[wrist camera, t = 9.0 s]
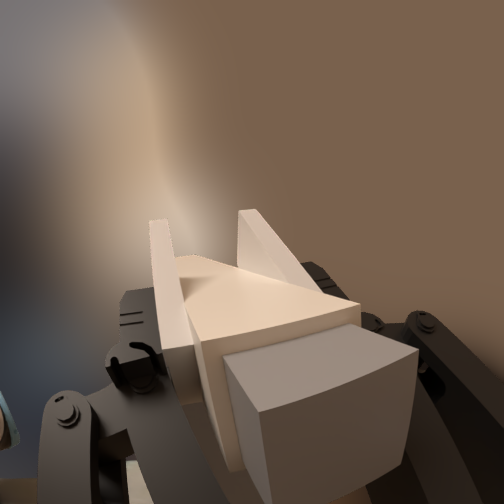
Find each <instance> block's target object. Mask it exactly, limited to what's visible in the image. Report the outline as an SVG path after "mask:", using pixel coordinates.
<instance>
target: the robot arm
mask: <svg viewBox="0 0 504 504" xmlns="http://www.w3.org/2000/svg"><path fill="white" fill-rule="evenodd" d="M238 215H239V217H238V248H237V265H238V267H239V269H243V270H246V271H249V272H252V273H256V274H259V275H262V276H266V277H269V278H272V279H275V280H279V281H282V282H285V283H289V284H293V285H297V286H300V287H304V288H307V289H310V290H314V291H317V292H321V293H324V294H328V295H331V296H335V297H338V298H341V299H345V300H348V301H350V300H349V299H348V297H347V296H346V295H345V294H344V293H343V292H342V290H341V289H340V288H339V287H337V285H336V283H335V282H334V281H333V280H332V279H330V276H329V275H328V274H327V273H326V272H325V270H324V269H323V268H321V267H319V266H318V265H316V264H314V263H313V262H305V263H299V262H298V260H297V259H296V258H295V257H294V255H293V254H292V253H291V252H290V250H289V249H288V248H287V247H286V246H285V244H284V243H283V242H282V241H281V239H280V238H279V237H278V236H277V234H276V233H275V232H274V231H273V230H272V228H270V226H269V225H268V223H267V222H266V221H265V220H264V219H263V217H262V216H261V215H260V214H259V212H258V211H257V210H256V209H250V210H240V211H239V214H238ZM149 230H150V245H151V259H152V271H153V282H154V287H151V288H145V289H138V290H130V291H126V292H125V294H124V296H123V298H122V299H121V301H120V342H119V343H117V344H116V345H115V346H114V347H112V348H111V349H110V351H109V353H108V355H107V357H106V361H105V362H106V363H105V368H106V370H107V372H108V374H109V376H110V377H111V379H112V381H113V382H112V383H111V384H110V385H109V386H108V387H106V388H104V389H102V390H100V391H98V392H95V393H93V394H90V395H88V396H86V397H84V396H83V395H81V394H80V393H78V392H75V391H70V390H68V391H61V392H59V393H57V394H55V395H53V396H52V397H51V398H50V400H49V401H48V402H47V403H46V406H45V409H44V413H43V420H42V427H41V436H40V445H39V457H38V475H37V504H129V495H128V484H127V472H126V457H128V456H130V455H132V454H135V456H136V459H137V462H138V464H139V467H140V470H141V473H142V475H143V478H144V481H145V483H146V486H147V488H148V491H149V493H150V495H151V498H152V500H153V503H154V504H230V502H229V501H228V499H227V497H226V496H225V494H224V492H223V490H222V488H221V487H220V485H219V483H218V481H217V479H216V478H215V476H214V474H213V472H212V470H211V468H210V466H209V464H208V462H207V460H206V458H205V456H204V454H203V452H202V450H201V448H200V446H199V444H198V442H197V440H196V438H195V436H194V433H193V431H192V429H191V427H190V425H189V423H188V420H187V418H186V416H185V413H184V411H183V409H182V407H181V405H186V404H192V403H198V402H203V399H202V394H201V388H200V382H199V376H198V370H197V363H196V357H195V350H194V344H193V340H192V336H191V332H190V328H189V324H188V319H187V315H186V311H185V307H184V298H183V294H182V289H181V285H180V280H179V275H178V271H177V266H176V261H175V256H174V252H173V246H172V242H171V236H170V230H169V224H168V219H160V220H152V221H149ZM361 328H363V329H366V330H369V331H371V332H374V333H376V334H379V335H382V336H384V337H387V338H390V339H392V340H395V341H398V342H400V343H403V344H406V345H408V346H411V347H414V348H416V349H419V356H418V367H417V377H416V385H415V393H414V400H413V407H412V413H411V419H410V424H409V430H408V435H407V439H406V444H405V449H404V453H403V457H402V461H401V464H400V465H399V466H397V467H396V468H394V469H392V470H391V471H389V472H387V473H386V474H384V475H382V476H381V477H379V478H377V479H375V480H374V481H372V482H370V483H368V484H366V485H365V486H366V489H367V491H368V494H369V497H370V499H371V502H372V504H504V384H503V383H502V382H501V381H500V380H499V379H498V378H497V377H496V376H495V375H494V374H493V373H492V372H491V371H490V370H489V369H488V368H487V367H486V366H485V364H483V363H482V361H481V360H480V359H479V358H477V356H475V355H474V354H473V353H472V352H471V350H470V349H468V348H467V347H466V346H465V345H464V344H463V343H462V342H461V341H460V340H459V339H458V338H457V337H456V336H455V335H454V334H453V333H452V332H451V331H450V330H449V329H448V328H447V327H445V326H444V325H443V324H442V323H441V322H440V321H439V320H438V319H437V318H436V317H434V316H433V315H431V314H430V313H427V312H425V311H414V312H411V313H410V314H409V315H408V317H407V319H406V321H405V323H390V324H385V323H383V321H381V319H380V318H378V317H376V316H375V315H373V314H370V313H366V312H361ZM424 361H425V362H426V363H427V365H428V366H429V367H428V368H427V370H422V369H420V367H421V365H422V364H423V363H424ZM19 442H20V437H19V433H18V431H17V429H16V426H15V423H14V420H13V418H12V415H11V413H10V411H9V408H8V406H7V404H6V402H5V400H4V397H3V396H2V393H1V392H0V451H1V450H4V449H11V448H12V447H13V446H15V445H17V444H18V443H19Z"/></svg>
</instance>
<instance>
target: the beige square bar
mask: <svg viewBox="0 0 504 504" xmlns="http://www.w3.org/2000/svg"><path fill="white" fill-rule="evenodd" d="M175 261H176V266H177V271H178V275H179V280H180V285H181V289H182V294H183V298H184V307H185V311H186V315H187V319H188V324H189V328H190V332H191V336H192V340H193V344H194V350H195V357H196V363H197V370H198V376H199V382H200V388H201V394H202V399H203V403H204V406H205V409H206V411H207V414H208V417H209V420H210V423H211V426H212V428H213V431H214V434H215V436H216V439H217V442H218V444H219V447H220V450H221V452H222V455H223V457H224V460H225V462H226V465H227V467H228V470H229V472H230V473H232V472H236V471H240V470H244V469H247V471H248V473H249V475H250V477H251V479H252V481H253V483H254V484H255V486H256V488H257V490H258V492H259V494H260V496H261V498H262V500H263V501H264V503H265V504H328V503H330V502H332V501H334V500H336V499H339V498H341V497H343V496H345V495H347V494H349V493H351V492H353V491H355V490H357V489H359V488H360V487H363V486H365V485H366V484H368V483H370V482H372V481H374V480H375V479H377V478H379V477H381V476H382V475H384V474H386V473H387V472H389V471H391V470H392V469H394V468H396V467H397V466H399V465H400V464H401V461H402V457H403V453H404V449H405V444H406V439H407V435H408V430H409V424H410V419H411V413H412V407H413V400H414V393H415V385H416V377H417V367H418V356H419V349H416V348H414V347H411V346H408V345H406V344H403V343H400V342H398V341H395V340H392V339H390V338H387V337H384V336H382V335H379V334H376V333H374V332H371V331H369V330H366V329H363V328H361V305H360V304H359V303H355V302H352V301H348V300H345V299H341V298H338V297H335V296H331V295H328V294H324V293H321V292H317V291H314V290H310V289H307V288H304V287H300V286H297V285H293V284H289V283H285V282H282V281H279V280H275V279H272V278H269V277H266V276H262V275H259V274H256V273H252V272H249V271H246V270H243V269H239V268H237V267H234V266H230V265H227V264H224V263H221V262H217V261H214V260H211V259H208V258H204V257H201V256H198V255H188V256H181V257H175Z"/></svg>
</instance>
